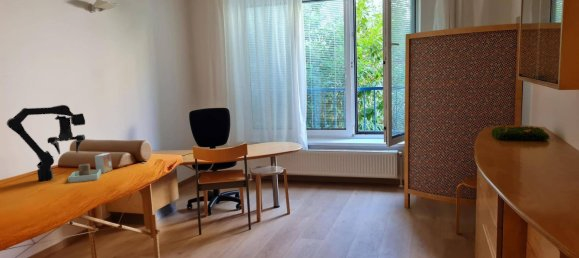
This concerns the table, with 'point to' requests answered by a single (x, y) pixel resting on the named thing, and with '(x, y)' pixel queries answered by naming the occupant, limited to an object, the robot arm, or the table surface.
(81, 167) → the walnut block
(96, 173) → the tray
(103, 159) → the small box
